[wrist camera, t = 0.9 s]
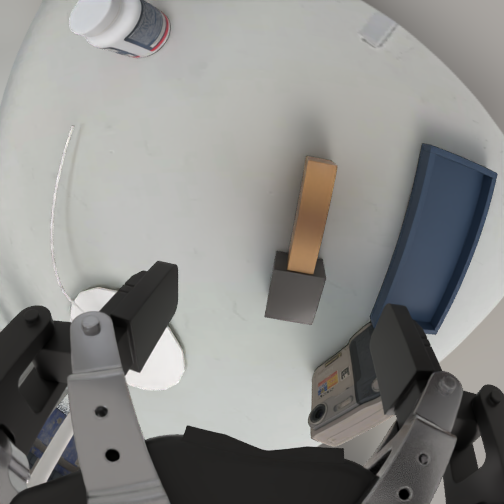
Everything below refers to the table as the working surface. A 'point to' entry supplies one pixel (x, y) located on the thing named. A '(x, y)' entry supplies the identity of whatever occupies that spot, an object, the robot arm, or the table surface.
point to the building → (69, 456)
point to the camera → (346, 393)
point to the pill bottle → (121, 26)
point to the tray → (437, 236)
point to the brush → (303, 249)
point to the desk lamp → (150, 378)
